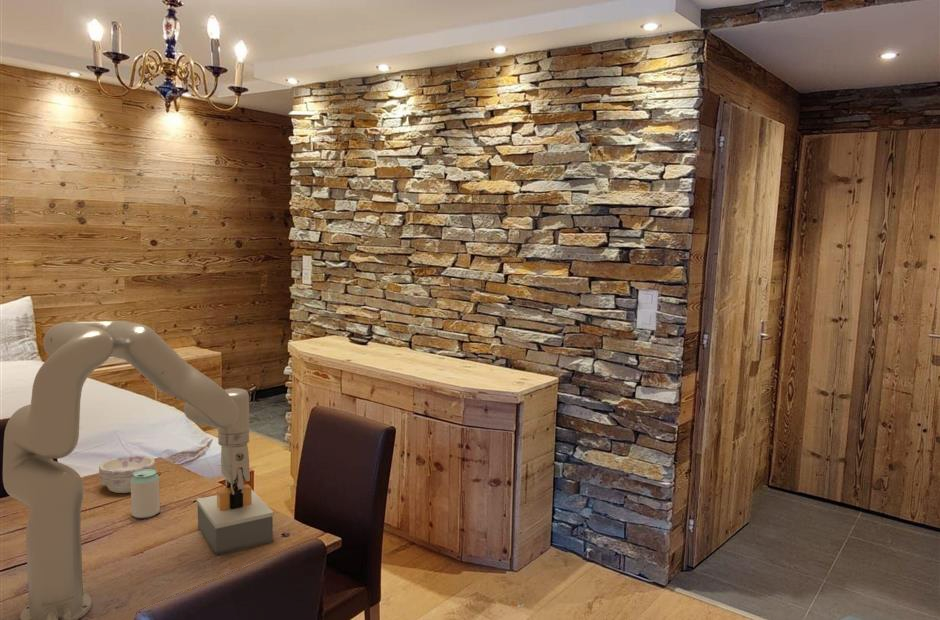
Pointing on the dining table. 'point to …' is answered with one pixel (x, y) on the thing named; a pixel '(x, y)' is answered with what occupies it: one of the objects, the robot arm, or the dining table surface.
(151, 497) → the can
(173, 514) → the dining table surface
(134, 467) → the paper bowls
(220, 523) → the lid
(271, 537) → the parts tub
